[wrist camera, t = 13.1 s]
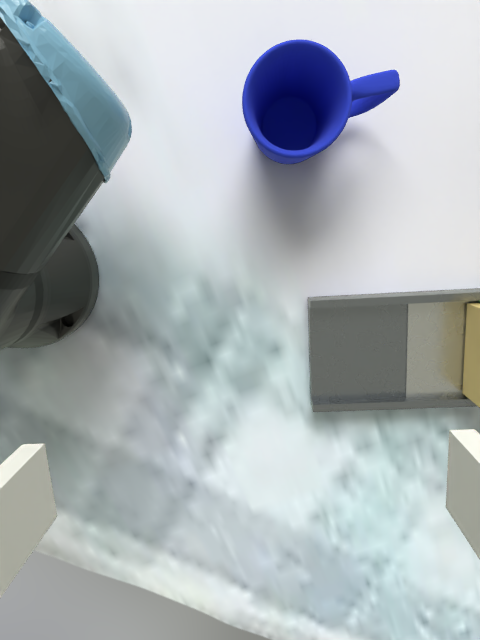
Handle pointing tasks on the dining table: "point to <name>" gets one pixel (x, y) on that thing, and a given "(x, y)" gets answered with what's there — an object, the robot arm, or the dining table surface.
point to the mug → (306, 99)
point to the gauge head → (472, 354)
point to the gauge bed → (388, 350)
